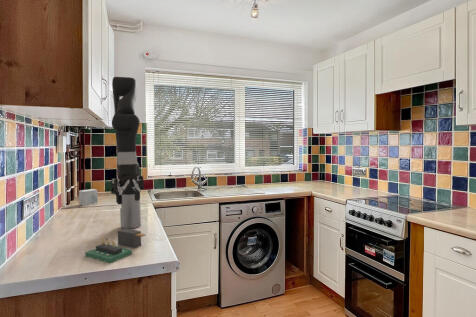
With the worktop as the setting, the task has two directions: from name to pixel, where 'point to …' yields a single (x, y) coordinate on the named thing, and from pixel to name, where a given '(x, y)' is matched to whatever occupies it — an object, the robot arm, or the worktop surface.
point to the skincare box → (88, 197)
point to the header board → (108, 258)
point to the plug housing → (129, 238)
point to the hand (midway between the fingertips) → (128, 202)
